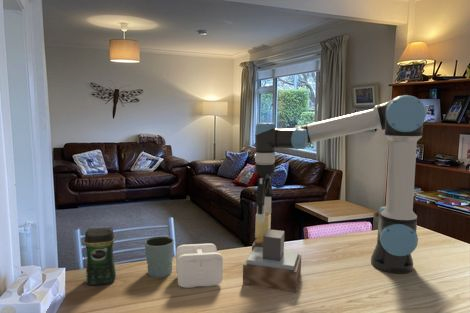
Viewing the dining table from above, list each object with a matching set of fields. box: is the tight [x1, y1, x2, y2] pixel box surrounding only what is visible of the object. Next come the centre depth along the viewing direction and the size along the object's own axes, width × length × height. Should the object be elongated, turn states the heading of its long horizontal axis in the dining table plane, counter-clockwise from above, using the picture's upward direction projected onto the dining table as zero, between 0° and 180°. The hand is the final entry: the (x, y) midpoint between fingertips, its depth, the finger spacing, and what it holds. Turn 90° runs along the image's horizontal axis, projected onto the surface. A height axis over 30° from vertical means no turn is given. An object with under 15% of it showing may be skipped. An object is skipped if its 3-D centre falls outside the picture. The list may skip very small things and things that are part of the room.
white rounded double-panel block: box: [175, 243, 224, 289], centre depth 130 cm, size 15×11×12 cm
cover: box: [246, 228, 299, 270], centre depth 132 cm, size 16×13×10 cm
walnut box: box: [242, 238, 302, 293], centre depth 137 cm, size 18×23×8 cm
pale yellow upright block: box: [254, 212, 272, 244], centre depth 146 cm, size 5×8×10 cm, turn 164°
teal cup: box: [144, 235, 175, 279], centre depth 136 cm, size 10×10×12 cm
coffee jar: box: [83, 226, 117, 286], centre depth 128 cm, size 10×8×19 cm
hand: (264, 217), depth 147 cm, fingers open, 13 cm apart
